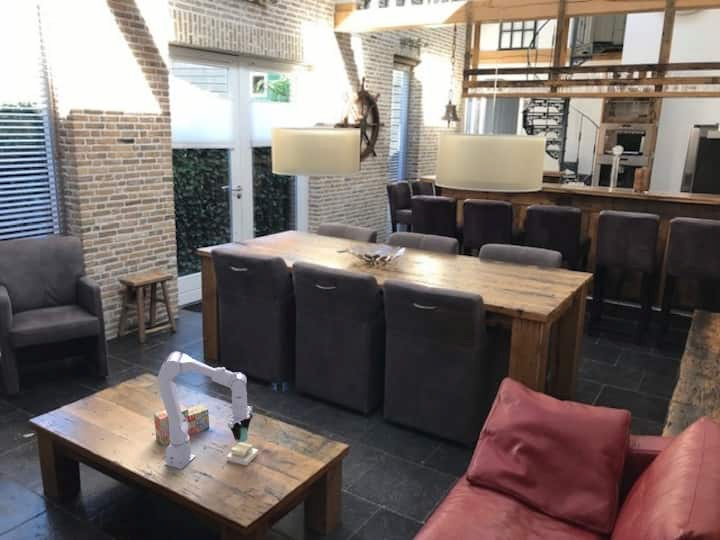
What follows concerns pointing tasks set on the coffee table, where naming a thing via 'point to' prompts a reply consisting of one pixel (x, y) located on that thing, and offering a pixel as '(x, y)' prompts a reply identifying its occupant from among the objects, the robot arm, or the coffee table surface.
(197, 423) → the stack of blocks
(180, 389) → the coffee table surface
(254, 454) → the white slab
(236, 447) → the maple block
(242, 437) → the teal rounded piece
